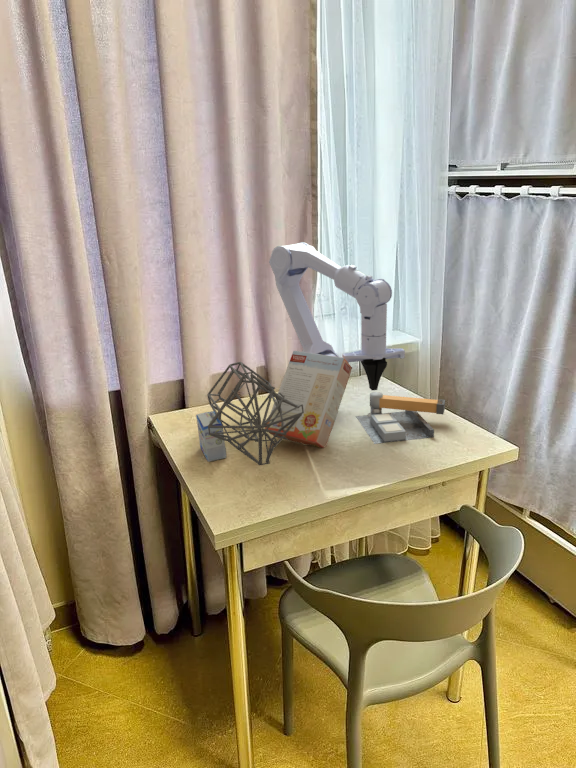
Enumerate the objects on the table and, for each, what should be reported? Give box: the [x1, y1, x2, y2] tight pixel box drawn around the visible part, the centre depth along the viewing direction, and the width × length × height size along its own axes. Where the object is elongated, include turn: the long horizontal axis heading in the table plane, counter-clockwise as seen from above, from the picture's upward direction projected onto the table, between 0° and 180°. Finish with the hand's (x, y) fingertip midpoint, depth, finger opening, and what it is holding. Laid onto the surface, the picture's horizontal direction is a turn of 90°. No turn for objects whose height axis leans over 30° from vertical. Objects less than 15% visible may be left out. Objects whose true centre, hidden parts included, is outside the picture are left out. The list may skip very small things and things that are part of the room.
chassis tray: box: [355, 407, 435, 445], centre depth 132 cm, size 14×17×4 cm
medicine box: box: [195, 410, 227, 463], centre depth 123 cm, size 8×4×9 cm, turn 20°
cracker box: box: [264, 350, 353, 449], centre depth 128 cm, size 14×6×21 cm
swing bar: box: [369, 391, 446, 415], centre depth 134 cm, size 18×3×3 cm, turn 69°
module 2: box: [378, 423, 406, 442], centre depth 126 cm, size 5×5×2 cm
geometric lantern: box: [207, 361, 304, 466], centre depth 124 cm, size 16×16×35 cm
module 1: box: [370, 412, 397, 431], centre depth 132 cm, size 5×5×2 cm
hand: (373, 388), depth 131 cm, fingers closed
